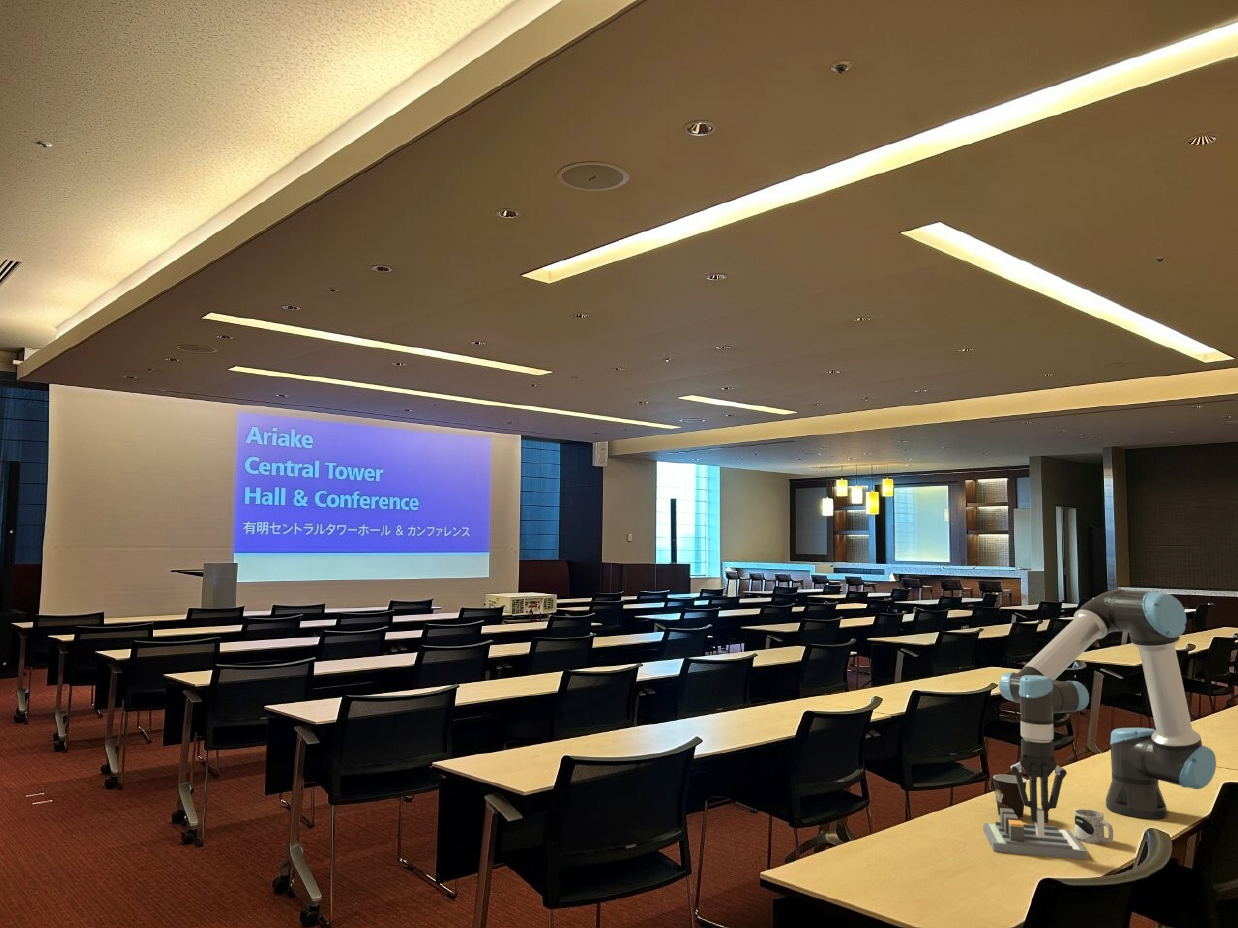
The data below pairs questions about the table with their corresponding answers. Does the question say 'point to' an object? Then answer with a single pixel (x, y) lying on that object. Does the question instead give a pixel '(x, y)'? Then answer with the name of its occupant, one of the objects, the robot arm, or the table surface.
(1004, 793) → the coffee mug
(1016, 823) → the block
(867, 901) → the table surface
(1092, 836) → the mug
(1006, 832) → the block
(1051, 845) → the panel
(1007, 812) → the block
